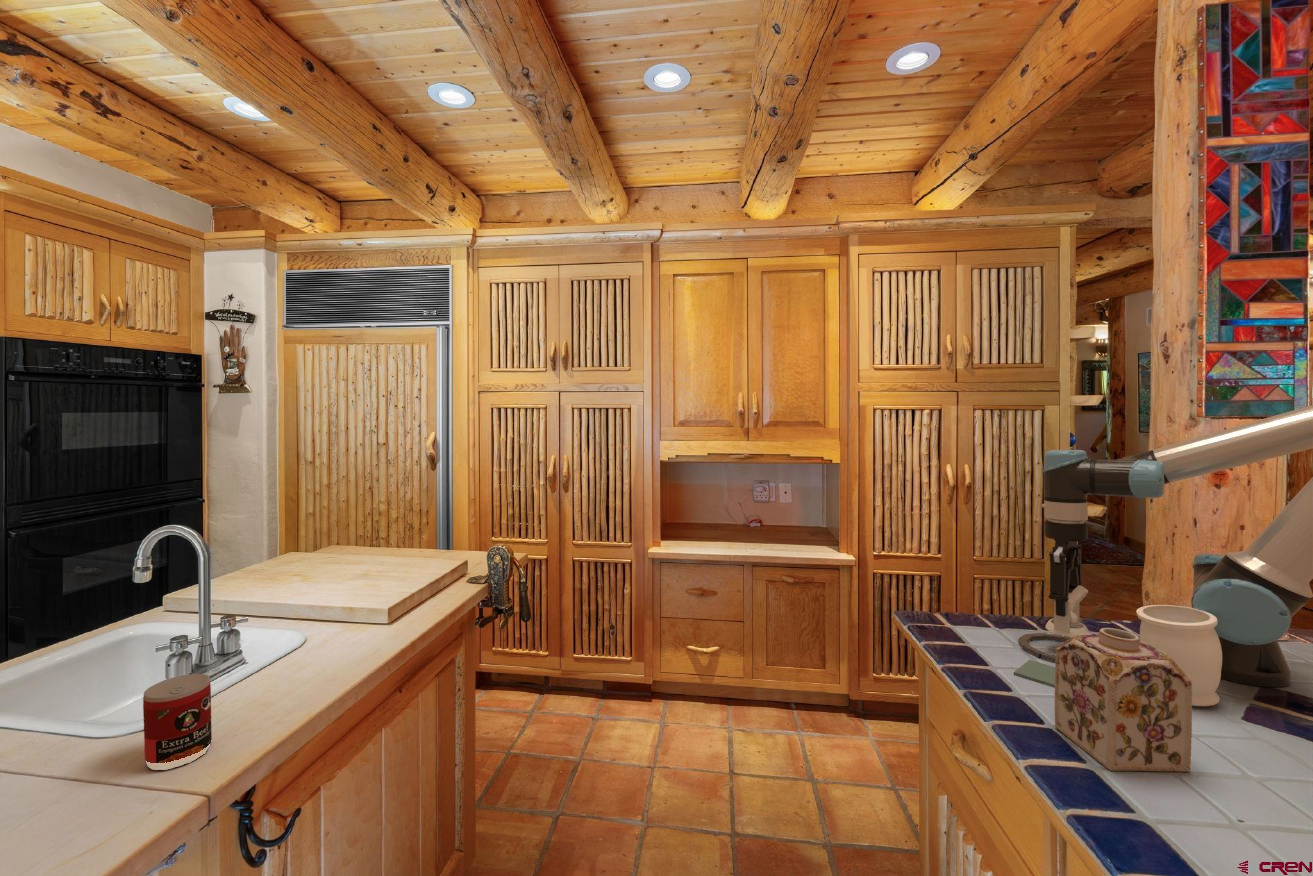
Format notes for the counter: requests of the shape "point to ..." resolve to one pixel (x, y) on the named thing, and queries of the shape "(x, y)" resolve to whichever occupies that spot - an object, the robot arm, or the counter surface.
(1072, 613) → the hook
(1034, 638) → the metal ring
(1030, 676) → the rubber mat
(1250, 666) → the robot arm
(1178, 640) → the jar
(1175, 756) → the decorative jar
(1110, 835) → the counter surface
